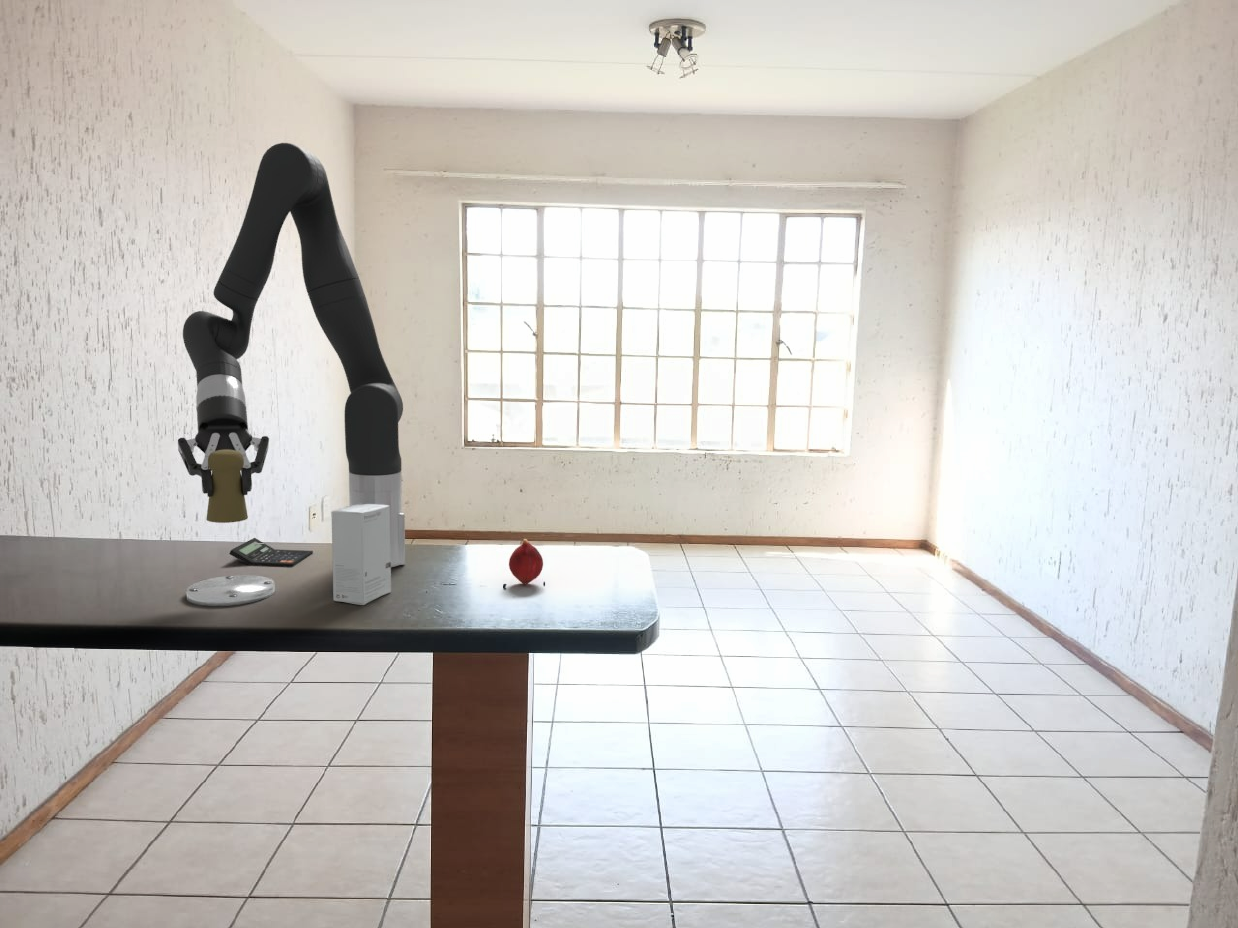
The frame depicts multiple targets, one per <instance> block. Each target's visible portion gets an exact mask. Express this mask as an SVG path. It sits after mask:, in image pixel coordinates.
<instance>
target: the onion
mask: <svg viewBox="0 0 1238 928" xmlns="http://www.w3.org/2000/svg"><path fill="white" fill-rule="evenodd" d="M543 567H544V559H543V557H542V555H541V553H540V552H539V550H538V549H537V548H536V547H535V546H534V545H532V544H531V543H530V542H529V540H528V539H527V538H523V541H522V543H521V544H520V545H519V546H518V547H516V548H515V549H514V551H512V553H511V555H510V557H509V560H508V568H509V570H510V573H511V574H512V575H513V576H514V578H516V579H517V580H518V581H519V582H520V583H521V584H522V585H526V586H527V585H528V584H530V583H532V582H533V581H534V580H536V579H537V578H538V577H539V576H540V575H541V572H542V570H543Z"/></svg>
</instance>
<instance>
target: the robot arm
mask: <svg viewBox="0 0 1238 928" xmlns="http://www.w3.org/2000/svg"><path fill="white" fill-rule="evenodd" d="M325 169H326V168H325V167H324V165H323V164H322V162H321V160H320V159H319V158H318V157H317V156H316V155H315V154H314V153H312V152H311V151H308V150H307V149H305V148H303V147H301V146H299V145H296V144H294V143H289V142H280V143H276V144H273V145H272V146H270V147H269V148H268V149H266V151H265V152H264V154H263V155H262V157H261V160H260V162H259V166H258V169H257V173H256V176H255V180H254V185H253V188H252V191H251V192H252V193H251V196H250V200H249V203H248V205H247V209H246V212H245V216H244V219H243V222H242V224H241V227H240V230H239V232H238V235H237V238H236V240H235V242H234V245H233V247H232V249H231V251H230V254H229V256H228V258H227V261H226V263H225V265H224V267H223V268H222V271H221V273H220V276H219V278H218V280H217V281H216V284H215V286H214V288H213V296H214V298H215V300H217V302H219V303H221V305H223V306H225V307H227V308H228V309H229V310H231V311H232V318H231V320H230V319H228V318H225V317H223V316H220V315H217V314H214V313H212V312H208V311H204V310H198V311H195V312H193V313H191V314H189V315H188V317H187V318H186V319H185V322H184V324H183V328H182V339H183V344H184V347H185V349H186V352H187V354H188V356H189V359H190V361H191V363H192V365H193V368H194V369H195V372H196V387H197V388H196V397H195V398H196V401H195V403H196V406H195V408H196V421H197V434H195V437H194V438H190V439H187V438H185V437H179V438H178V439H177V446H178V447H177V449H178V453H179V455H180V457H181V459H182V461H183V464H184V466H185V468H186V470H187V473H188V474H189V476H199V477H201V490H202V493H203V494H205V495H207V498H209V497H212V470H211V469H210V468H209V465H208V457H209V455H210V453H212V452H214V451H218V450H235V451H239V452H240V453H241V454H242V455H243V458H244V465H243V467H242V469H241V470H240V472H241V478H242V492H243V495H244V496H248V493H249V492H251V491H252V489H253V481H252V475H254V474H261V473H262V471H263V468H264V465H265V463H266V462H265V461H266V459H267V458H266V457H267V453H268V451H269V446H270V445H269V444H270V443H269V442H270V438H269V436H266V435H263V436H262V437H254V436H253V435H252V433H251V432H250V431H249V424H248V414H247V404H246V396H245V391H244V388H243V377H242V376H243V375H242V369H241V365H240V362H239V361H238V359H240V358H242V357H243V356H244V354H245V353H246V352H247V350H248V347H249V343H250V336H251V328H252V322H253V317H254V313H255V309H256V304H257V303H258V301H259V298H260V297H261V294H262V293H263V290H264V288H265V286H266V283H267V282H268V280H269V277H270V273H271V272H272V269H273V265H274V259H275V255H276V249H277V244H278V241H279V235H280V234H281V231H282V228H283V225H284V223H285V220H286V219H287V217H288V215H289V214H290V215H291V217H292V220H293V221H294V225H295V227H296V229H297V234H298V237H299V241H300V250H301V268H302V277H303V282H304V286H305V289H306V290H305V291H306V292H307V296H308V298H309V301H310V304H311V306H312V309H313V312H314V315H315V317H316V319H317V322H318V324H319V325H320V327H321V330H322V331H323V333H324V335H325V336H326V338H327V340H328V342H329V343H330V345H331V346H332V348H333V350H334V352H335V353H336V355H337V356H338V358H339V360H340V363H341V364H342V367H343V370H344V374H345V377H346V380H347V384H348V387H349V391H350V394H349V395H348V397H347V398H346V402H345V405H344V438H345V439H344V440H345V442H344V443H345V453H346V454H345V455H346V460H347V462H348V491H349V492H348V493H349V495H348V496H349V500H348V501H349V503H348V504H349V505H348V506H352V505H357V504H378V505H389V506H390V556H391V568H396V567H398V566H401V565H402V566H404V565H406V540H405V539H406V534H405V533H406V530H405V529H406V519H405V518H406V516H405V513H404V512H403V508H402V507H403V505H402V503H403V501H402V499H403V498H402V497H403V495H402V491H403V490H402V489H403V487H402V456H401V453H400V452H401V451H400V447H399V446H400V445H399V444H400V443H399V442H400V441H399V422H400V420H401V418H402V416H403V411H404V402H403V399H402V396H401V394H400V392H399V389H398V387H397V386H396V384H395V381H394V379H393V377H392V375H391V373H390V369H388V366H387V363H386V361H385V359H384V357H383V354H382V351H381V348H380V345H379V344H380V343H379V340H378V337H377V332H376V328H375V325H374V322H373V318H372V315H371V312H370V307H369V304H368V300H367V297H366V294H365V291H364V288H363V285H362V282H361V280H360V277H359V273H358V271H357V269H356V267H355V264H354V261H353V257H352V255H351V253H350V250H349V247H348V245H347V242H346V239H345V238H344V236H343V233H342V230H341V227H340V225H339V222H338V218H337V213H336V210H335V205H334V202H333V201H334V200H333V197H332V193H331V189H330V183H329V179H328V175H327V171H326V170H325ZM251 445H252V446H253V447H254V450H255V451H256V455H255V459H254V461H252V462H250V460H249V458H248V455H247V453H246V451H247V450H248V449H249V448H250V447H251ZM196 447H197V448H198V449H199V451H202V453H204V458H203V461H202V463H198V462H197V461H196V459H195V456H194V454H193V453H194V452H195V448H196Z"/></svg>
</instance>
